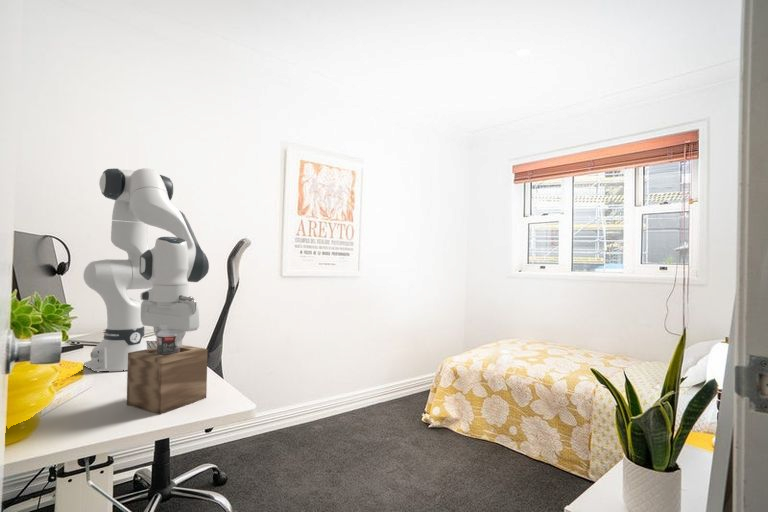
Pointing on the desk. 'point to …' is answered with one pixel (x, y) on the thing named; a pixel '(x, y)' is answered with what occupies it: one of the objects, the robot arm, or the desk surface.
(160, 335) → the pill bottle
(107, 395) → the desk surface
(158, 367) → the slot box
